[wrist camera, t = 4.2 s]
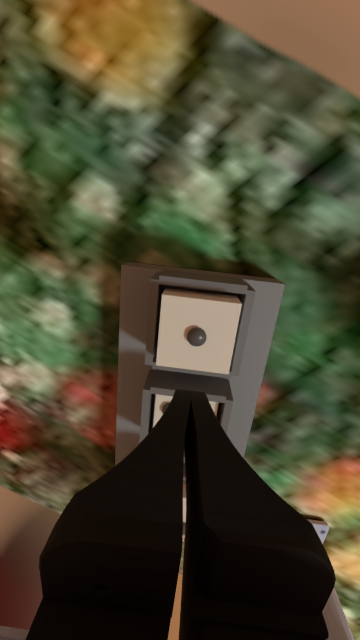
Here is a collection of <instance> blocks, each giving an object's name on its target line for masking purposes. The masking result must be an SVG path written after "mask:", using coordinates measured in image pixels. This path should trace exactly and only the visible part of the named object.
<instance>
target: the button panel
mask: <svg viewBox="0 0 360 640" xmlns="http://www.w3.org/2000/svg"><path fill="white" fill-rule="evenodd" d="M284 287H285V284H284V283H283V282H281V281H279V280H278V279H273V278H265V277H256V276H247V275H238V274H230V273H221V272H212V271H204V270H195V269H186V268H178V267H169V266H160V265H152V264H143V263H134V262H127V263H125V264H123V265H121V290H120V322H119V354H118V386H117V418H116V450H115V466H116V465H117V464H118V463H119V462H121V461H122V460H123V459H124V458H125V457H126V456H127V455H128V454H129V453H130V452H131V451H133V450H134V449H135V448H136V447H137V446H138V445H139V444H140V442H141V441H142V440H143V439H144V438H145V437H146V436H147V435H148V434H149V432H150V431H151V430H152V429H153V421H154V410H155V399H156V394H158V395H166V396H173V395H174V392H175V390H177V389H182V390H191V391H199V392H205V394H206V395H207V398H208V400H209V401H212V402H219V404H218V409H217V415H216V417H217V419H218V421H219V423H220V424H221V426H222V428H223V430H224V431H225V433H226V434H227V436H228V437H229V439H230V441H231V442H232V443H233V445H234V446H235V448H236V449H237V451H238V452H239V453H240V454H241V456H242V457H243V458H244V454H245V450H246V446H247V441H248V437H249V433H250V429H251V425H252V421H253V416H254V412H255V408H256V404H257V400H258V395H259V391H260V387H261V383H262V379H263V375H264V370H265V366H266V362H267V358H268V354H269V350H270V345H271V341H272V337H273V333H274V329H275V325H276V320H277V316H278V312H279V308H280V304H281V300H282V295H283V291H284ZM165 288H171V289H179V290H188V291H196V292H205V293H214V294H222V295H231V296H237V297H238V298H239V300H240V302H241V303H242V307H241V312H240V317H239V322H238V328H237V333H236V338H235V343H234V349H233V354H232V359H231V365H230V370H229V374H221V373H213V372H205V371H197V370H189V369H181V368H173V367H165V366H157V365H156V359H157V347H158V335H159V324H160V312H161V300H162V294H163V292H164V290H165ZM183 482H186V478H185V449H184V465H183Z"/></svg>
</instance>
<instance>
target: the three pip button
mask: <svg viewBox="0 0 360 640" xmlns="http://www.w3.org/2000/svg"><path fill="white" fill-rule="evenodd" d="M172 398H173V396H166V395H158V394H156V399H155V410H154V421H153V427H154V426H155V425H156V423H157V422H158V421H159V419H160V418H161V417H162V415H163V413H164V412H165V410H166V409H167V407H168V405H169V404H170V402H171V400H172ZM209 403H210V405H211V407H212V409H213V411H214V413H215V415H217V409H218V404H219V402H212V401H209Z"/></svg>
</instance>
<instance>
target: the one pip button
mask: <svg viewBox="0 0 360 640" xmlns="http://www.w3.org/2000/svg"><path fill="white" fill-rule="evenodd" d="M241 307H242V303H241V302H240V300H239V298H238V297H237V296H231V295H222V294H214V293H205V292H196V291H188V290H179V289H171V288H165V290H164V292H163V294H162V300H161V312H160V324H159V335H158V347H157V359H156V365H157V366H165V367H173V368H181V369H189V370H197V371H205V372H213V373H221V374H229V370H230V365H231V359H232V354H233V349H234V343H235V338H236V333H237V328H238V322H239V317H240V312H241Z"/></svg>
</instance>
